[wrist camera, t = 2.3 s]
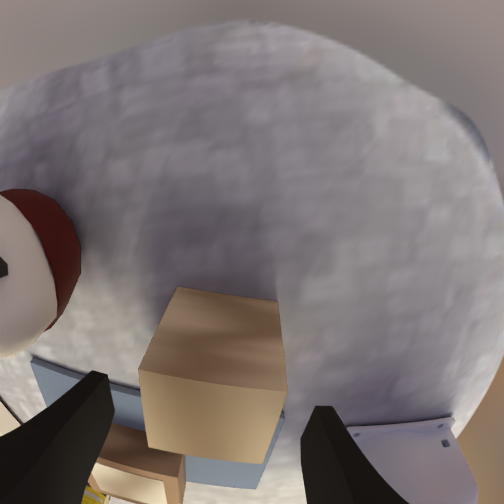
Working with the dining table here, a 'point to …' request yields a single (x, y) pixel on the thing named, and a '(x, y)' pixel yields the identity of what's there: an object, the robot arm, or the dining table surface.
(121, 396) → the board
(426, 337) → the dining table surface
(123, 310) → the dining table surface
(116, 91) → the dining table surface
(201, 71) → the dining table surface
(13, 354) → the cocoa
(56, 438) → the robot arm
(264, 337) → the maple block
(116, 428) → the walnut base block
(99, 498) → the supplement bottle
